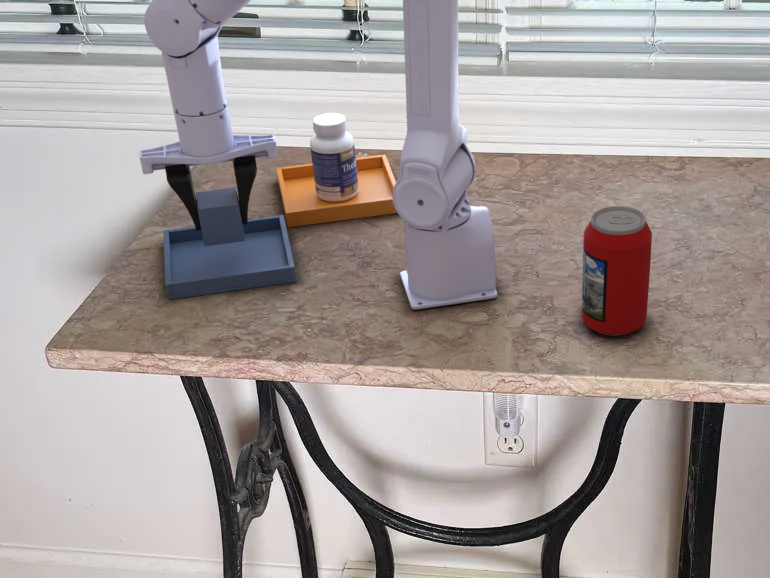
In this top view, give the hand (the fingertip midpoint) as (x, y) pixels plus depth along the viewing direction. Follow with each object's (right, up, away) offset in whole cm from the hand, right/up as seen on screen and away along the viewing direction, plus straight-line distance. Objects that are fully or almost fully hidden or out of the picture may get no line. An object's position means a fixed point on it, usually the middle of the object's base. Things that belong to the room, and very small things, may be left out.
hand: (222, 223), depth 134 cm
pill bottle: (+11, +7, +15) cm, 20 cm away
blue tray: (0, -4, +3) cm, 5 cm away
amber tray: (+11, +7, +15) cm, 20 cm away
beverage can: (+43, -13, -10) cm, 46 cm away
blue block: (0, -1, +1) cm, 1 cm away
